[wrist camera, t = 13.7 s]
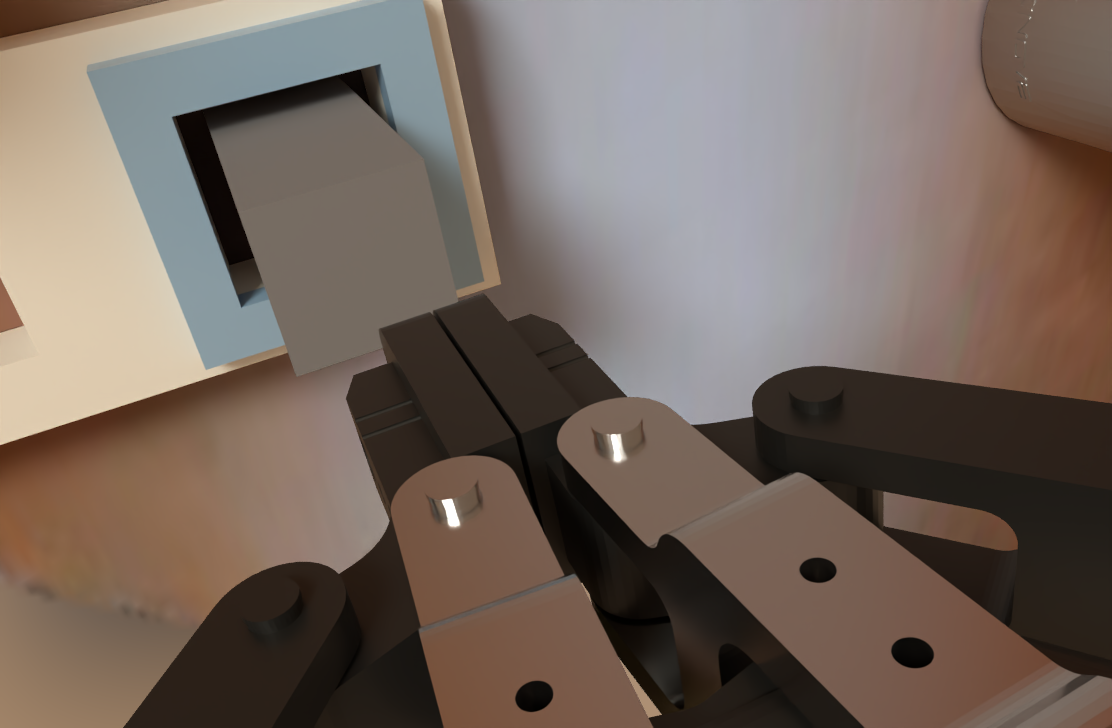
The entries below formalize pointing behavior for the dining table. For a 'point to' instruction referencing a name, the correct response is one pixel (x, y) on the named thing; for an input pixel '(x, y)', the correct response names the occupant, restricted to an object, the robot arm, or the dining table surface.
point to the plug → (332, 218)
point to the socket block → (184, 186)
